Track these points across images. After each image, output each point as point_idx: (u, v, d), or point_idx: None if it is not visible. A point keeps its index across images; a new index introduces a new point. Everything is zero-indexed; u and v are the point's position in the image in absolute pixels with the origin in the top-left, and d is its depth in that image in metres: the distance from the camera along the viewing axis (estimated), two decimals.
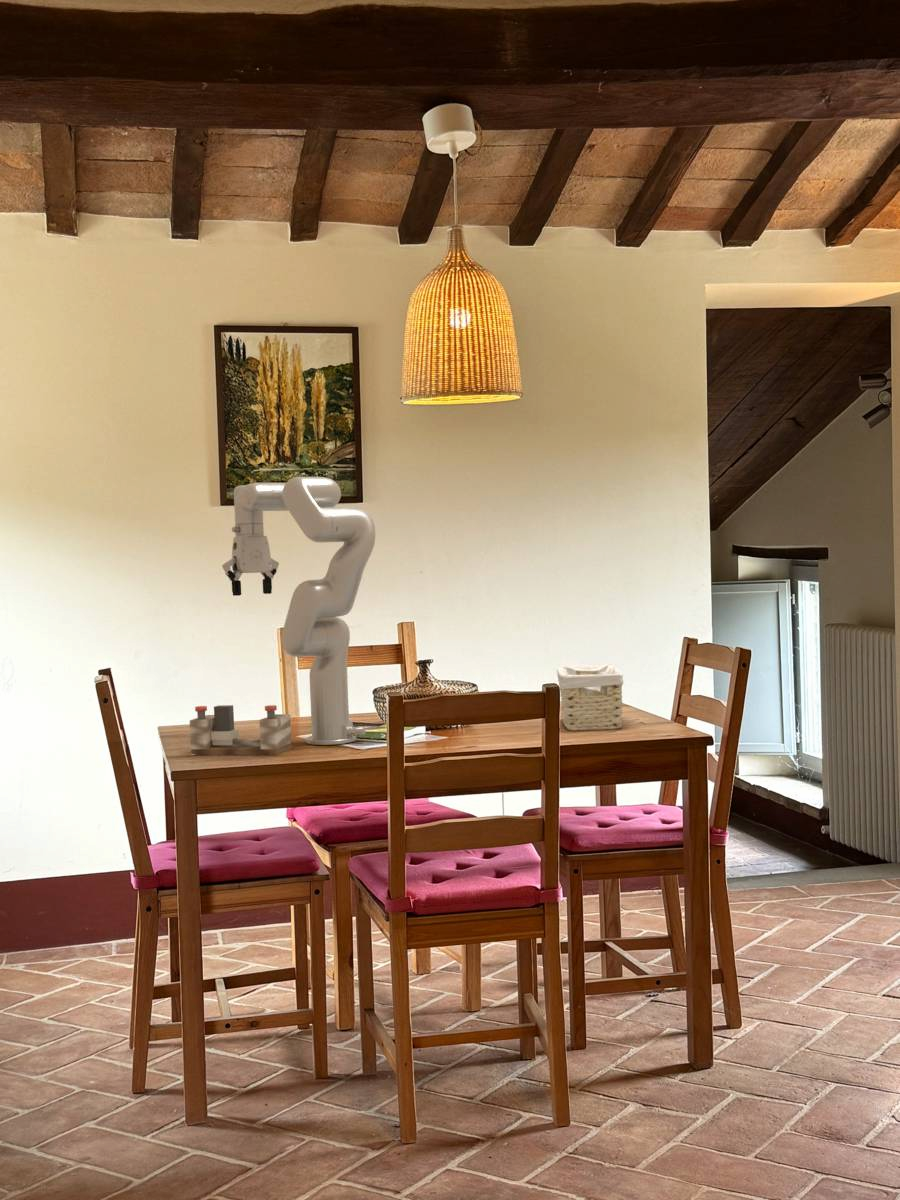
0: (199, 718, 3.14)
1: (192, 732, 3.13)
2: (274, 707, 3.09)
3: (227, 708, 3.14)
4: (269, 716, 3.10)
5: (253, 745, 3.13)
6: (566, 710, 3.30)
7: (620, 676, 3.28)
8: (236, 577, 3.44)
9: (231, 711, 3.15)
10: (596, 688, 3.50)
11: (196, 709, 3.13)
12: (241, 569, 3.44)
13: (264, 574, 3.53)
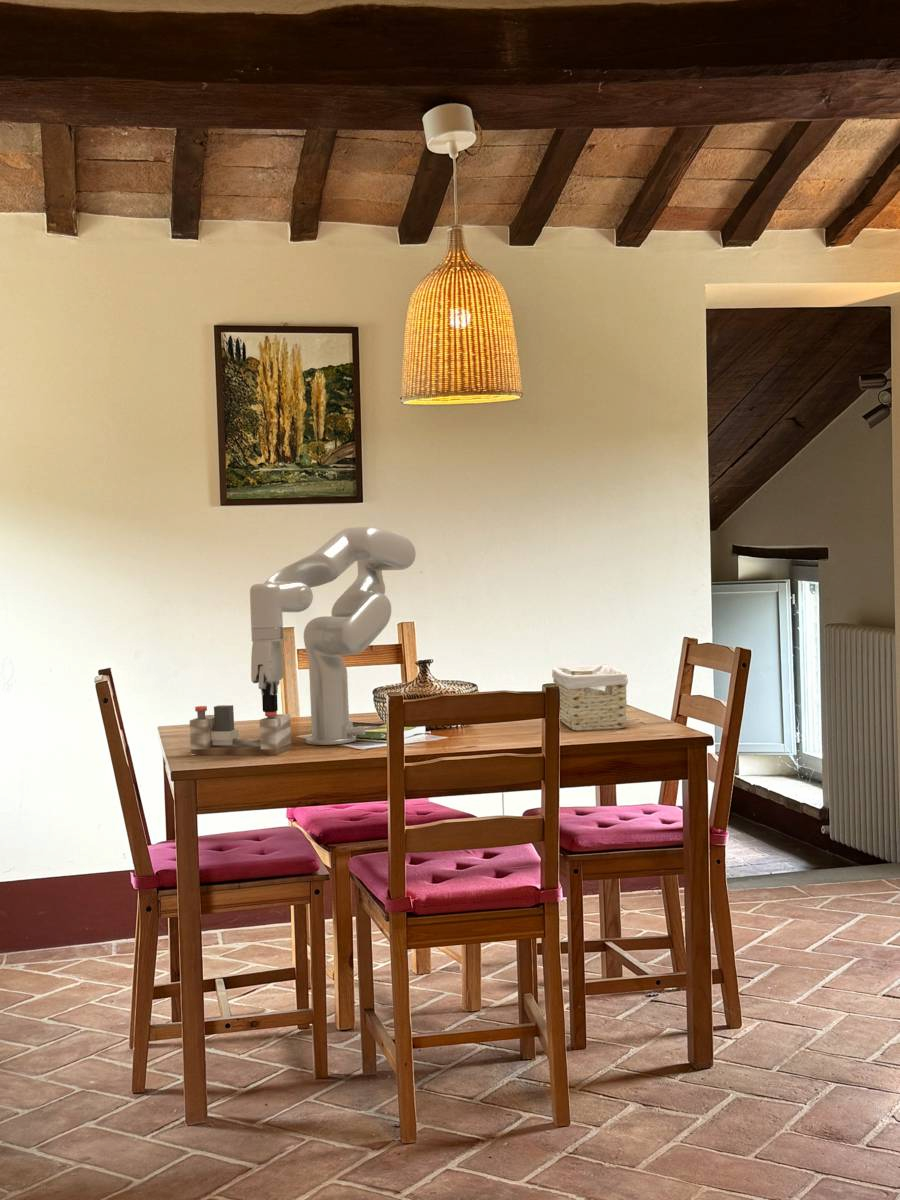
0: (199, 718, 3.14)
1: (192, 732, 3.13)
2: (274, 713, 3.09)
3: (227, 708, 3.14)
4: None
5: (253, 745, 3.13)
6: (572, 710, 3.29)
7: (625, 675, 3.29)
8: None
9: (231, 711, 3.15)
10: None
11: (196, 709, 3.13)
12: None
13: None
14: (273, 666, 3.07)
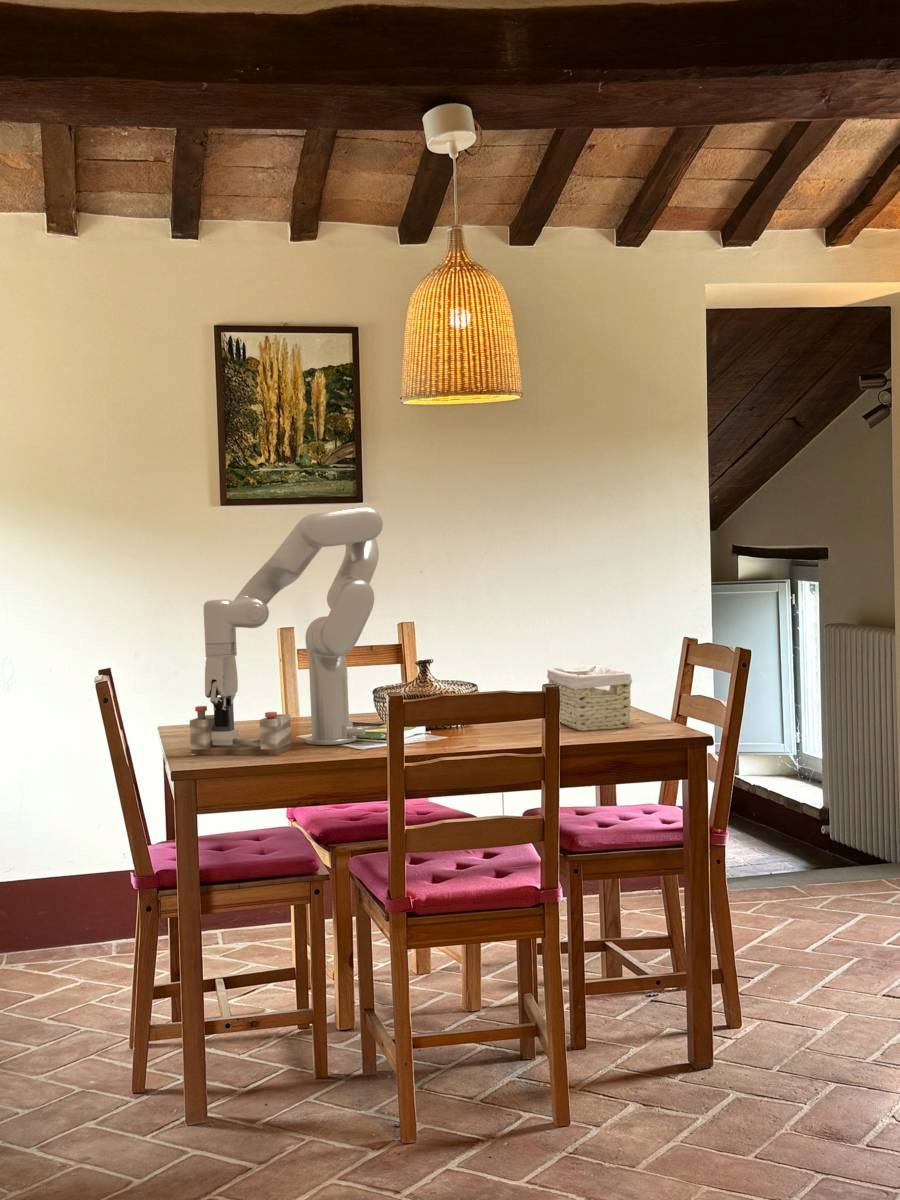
0: (199, 718, 3.14)
1: (192, 732, 3.13)
2: (274, 714, 3.09)
3: (227, 708, 3.14)
4: None
5: (253, 745, 3.13)
6: (578, 710, 3.28)
7: (629, 675, 3.30)
8: None
9: (231, 711, 3.15)
10: None
11: (196, 709, 3.13)
12: None
13: None
14: (226, 681, 3.12)
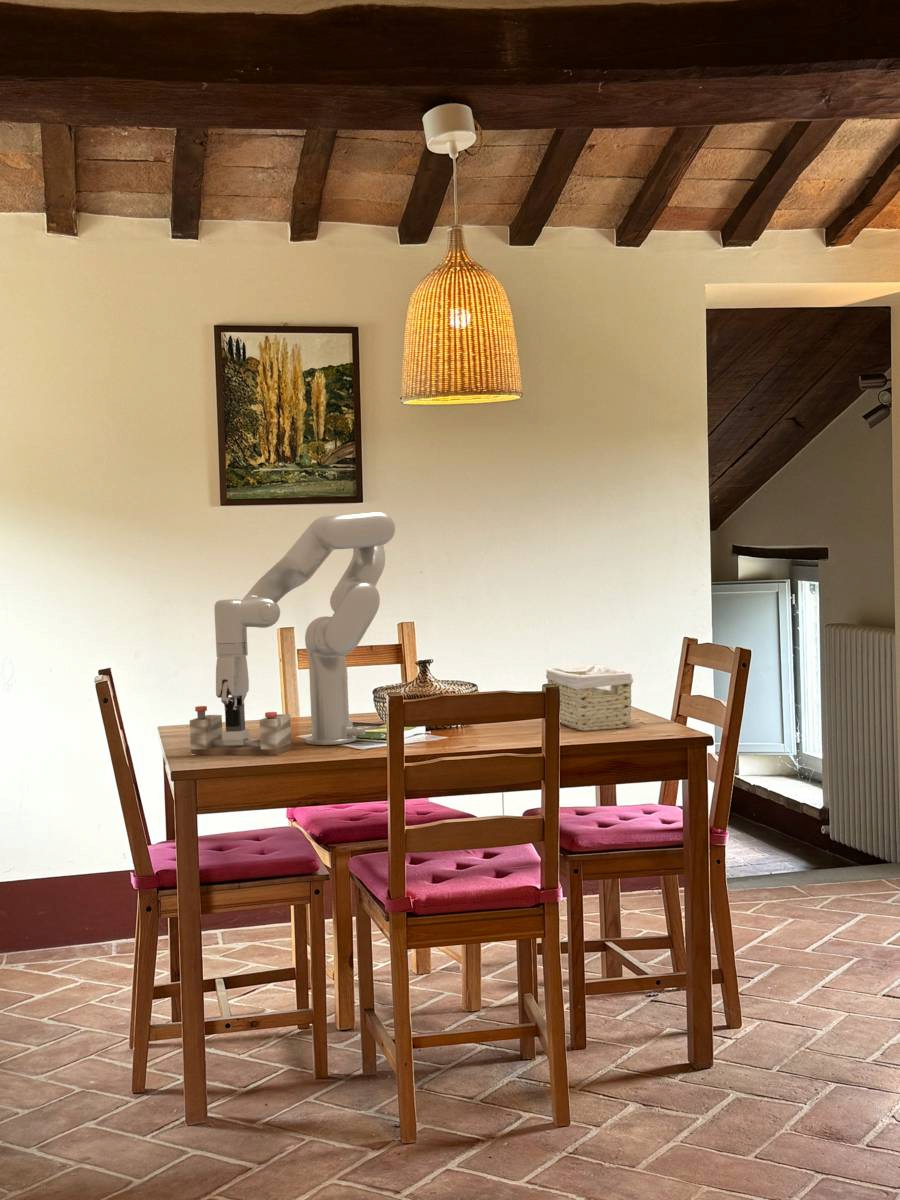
0: (199, 718, 3.14)
1: (192, 732, 3.13)
2: (274, 714, 3.09)
3: (238, 708, 3.13)
4: None
5: (253, 745, 3.13)
6: (579, 710, 3.28)
7: (630, 675, 3.31)
8: None
9: (242, 711, 3.15)
10: None
11: (196, 709, 3.13)
12: None
13: None
14: (237, 681, 3.12)
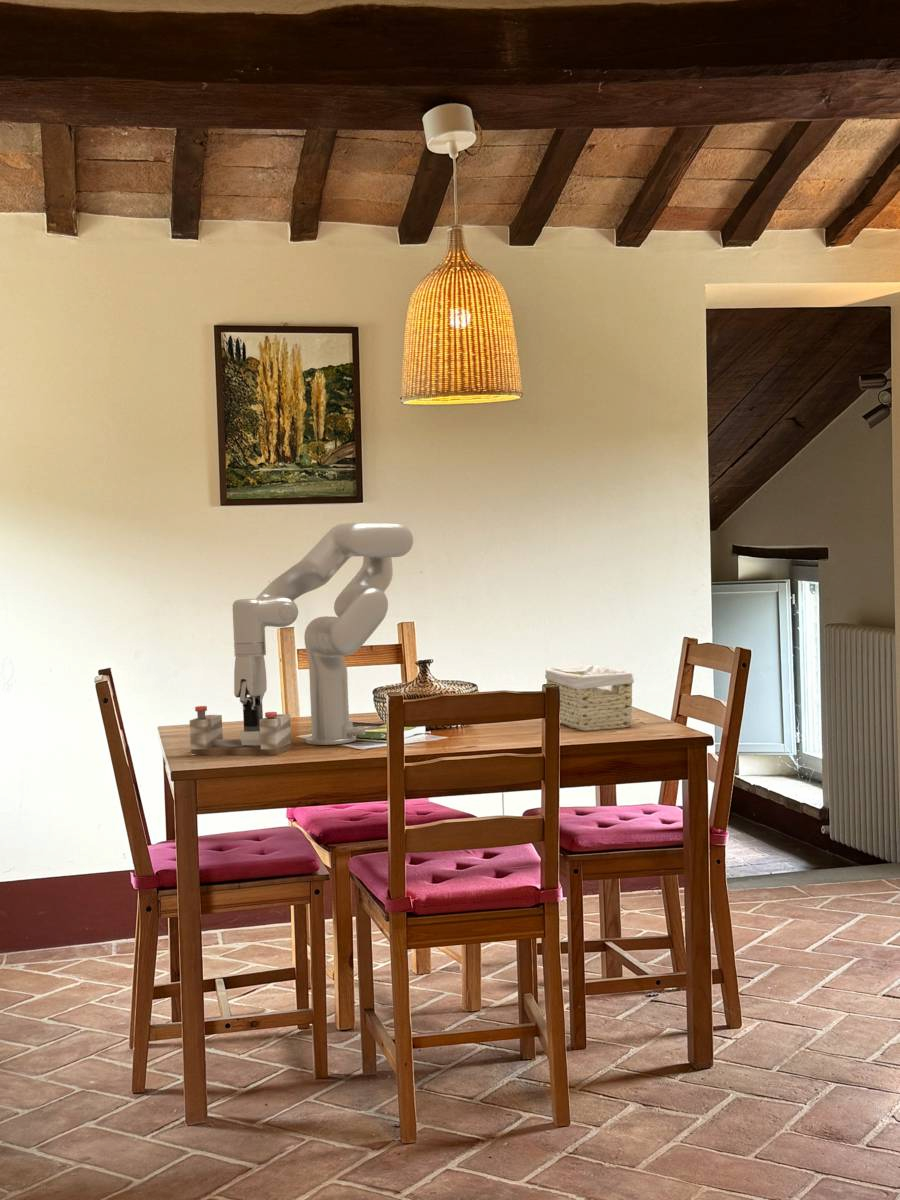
0: (199, 718, 3.14)
1: (192, 732, 3.13)
2: (274, 714, 3.09)
3: (256, 708, 3.12)
4: None
5: (253, 745, 3.13)
6: (581, 710, 3.28)
7: (631, 675, 3.31)
8: None
9: (260, 711, 3.14)
10: None
11: (196, 709, 3.13)
12: None
13: None
14: (256, 680, 3.11)
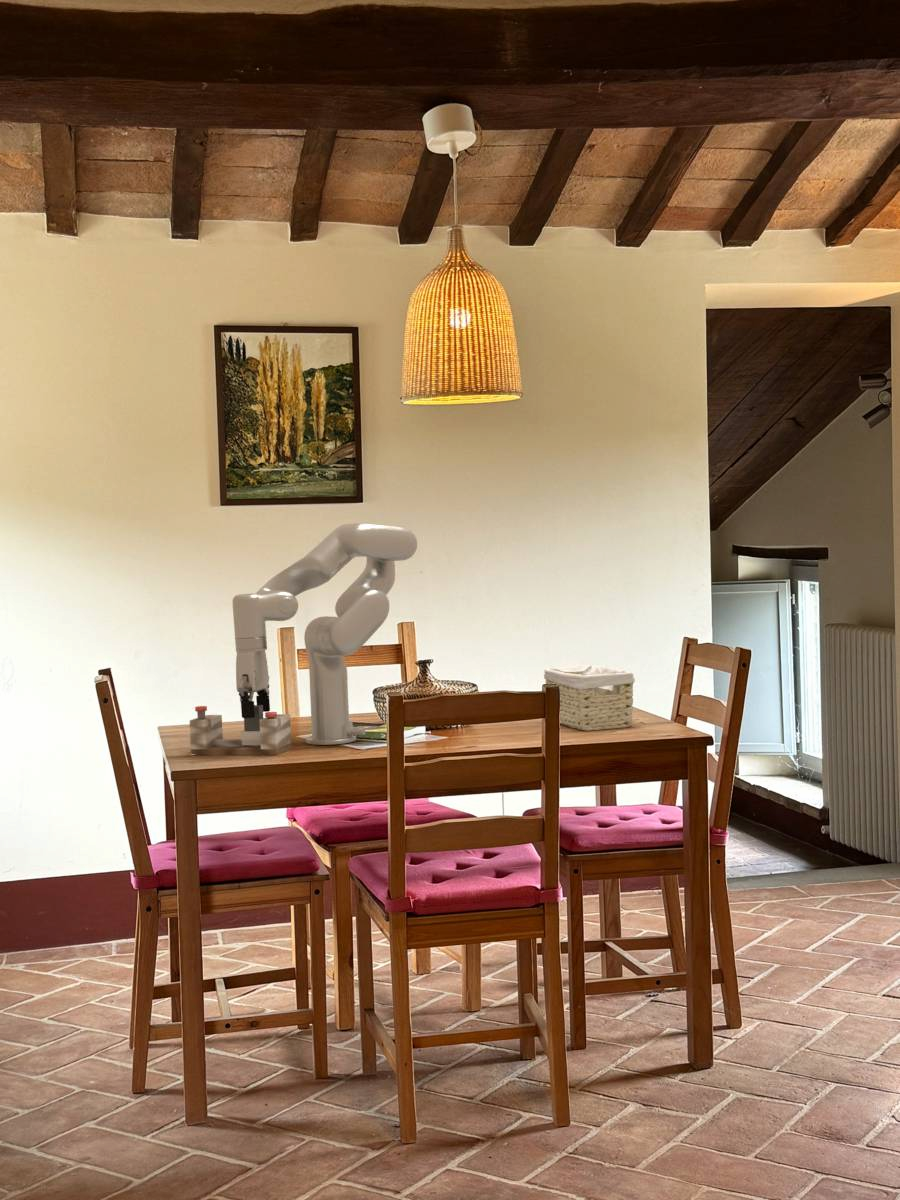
0: (199, 718, 3.14)
1: (192, 732, 3.13)
2: (274, 714, 3.09)
3: (257, 708, 3.12)
4: None
5: (253, 745, 3.13)
6: (583, 710, 3.28)
7: (632, 674, 3.31)
8: None
9: (261, 711, 3.13)
10: None
11: (196, 709, 3.13)
12: None
13: None
14: (258, 675, 3.11)
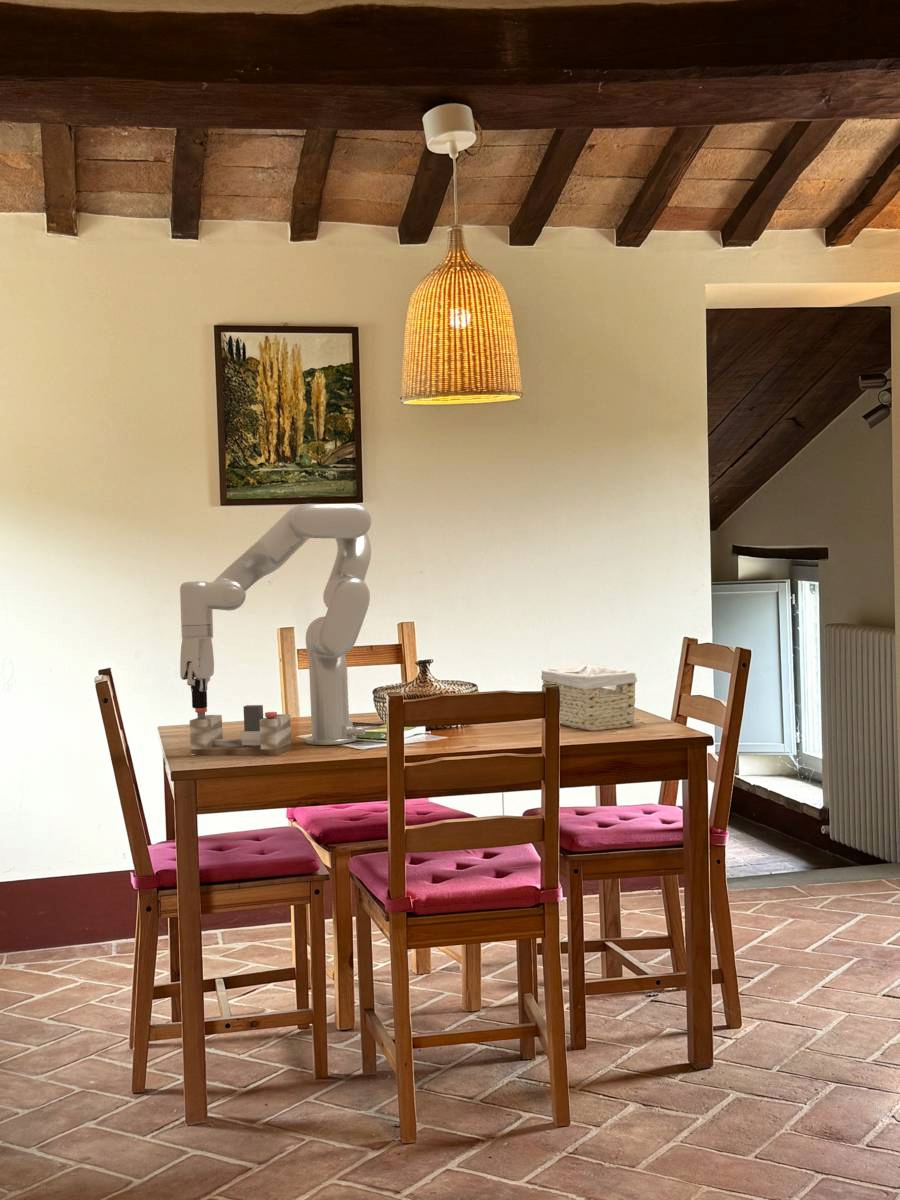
0: (199, 719, 3.14)
1: (192, 732, 3.13)
2: (274, 714, 3.09)
3: (257, 708, 3.12)
4: None
5: (253, 745, 3.13)
6: (588, 710, 3.27)
7: (634, 674, 3.32)
8: None
9: (261, 711, 3.13)
10: None
11: (196, 710, 3.13)
12: None
13: None
14: (202, 663, 3.11)
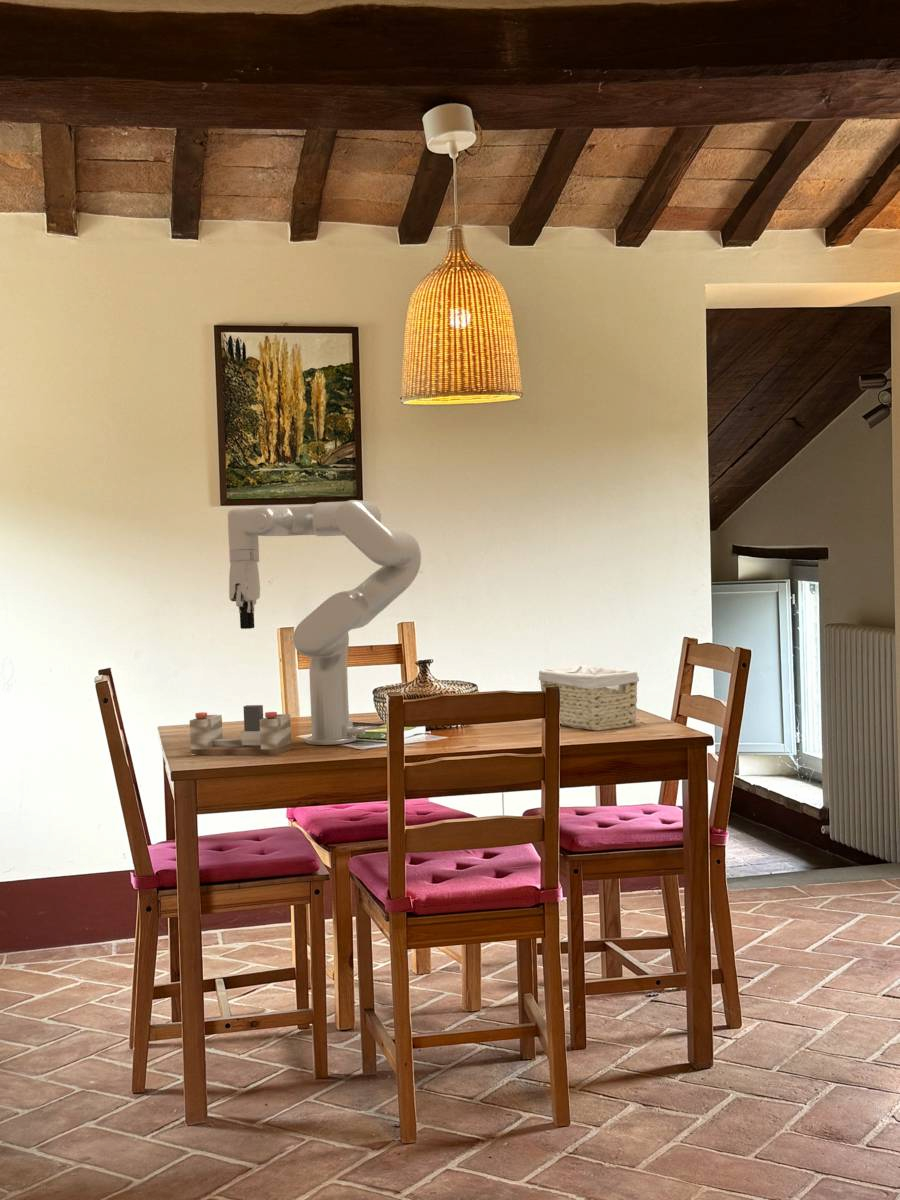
0: None
1: (192, 732, 3.13)
2: (274, 714, 3.09)
3: (257, 708, 3.12)
4: None
5: (253, 745, 3.13)
6: (593, 710, 3.27)
7: None
8: None
9: (261, 711, 3.13)
10: None
11: (196, 715, 3.13)
12: None
13: None
14: (250, 585, 3.29)
